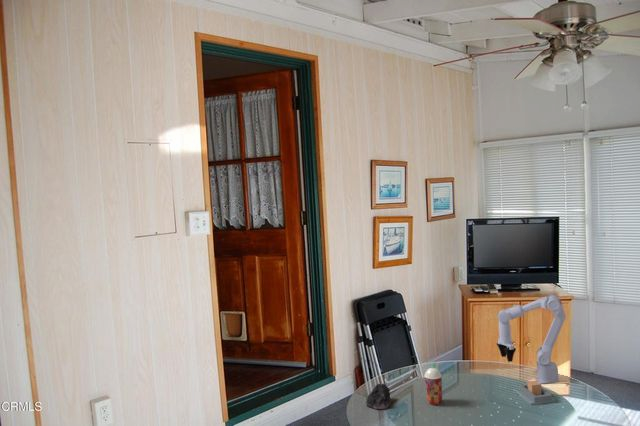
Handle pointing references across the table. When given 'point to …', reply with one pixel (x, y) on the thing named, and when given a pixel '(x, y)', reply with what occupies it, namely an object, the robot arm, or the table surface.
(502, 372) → the table surface
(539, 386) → the wooden block
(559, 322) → the robot arm
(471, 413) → the table surface
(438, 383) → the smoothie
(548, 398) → the well board
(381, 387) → the crystal cluster
